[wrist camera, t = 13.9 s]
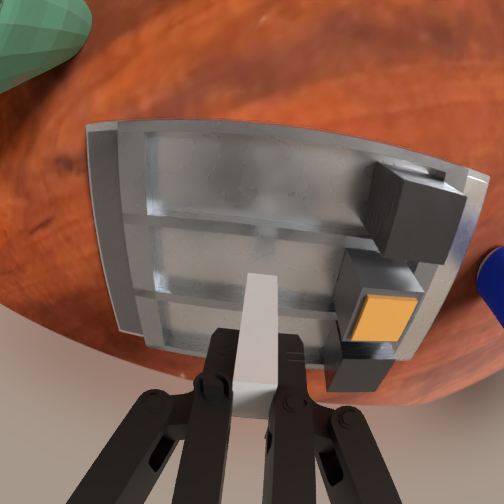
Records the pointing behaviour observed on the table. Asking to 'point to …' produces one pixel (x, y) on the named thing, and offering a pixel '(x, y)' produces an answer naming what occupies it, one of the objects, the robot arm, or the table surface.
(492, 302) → the beverage can
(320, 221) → the panel
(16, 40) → the mug
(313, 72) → the table surface
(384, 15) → the table surface
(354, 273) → the block
